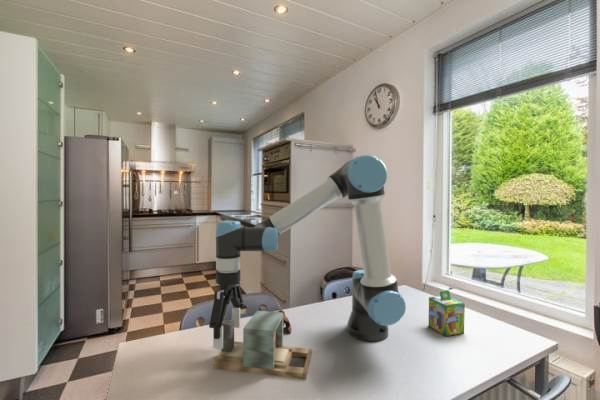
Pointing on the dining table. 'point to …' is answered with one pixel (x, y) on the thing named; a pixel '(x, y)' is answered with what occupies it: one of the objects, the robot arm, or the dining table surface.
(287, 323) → the pottery mug
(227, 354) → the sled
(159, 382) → the dining table surface
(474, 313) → the dining table surface
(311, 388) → the dining table surface
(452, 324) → the chalk box
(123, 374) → the dining table surface
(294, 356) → the tunnel deck
